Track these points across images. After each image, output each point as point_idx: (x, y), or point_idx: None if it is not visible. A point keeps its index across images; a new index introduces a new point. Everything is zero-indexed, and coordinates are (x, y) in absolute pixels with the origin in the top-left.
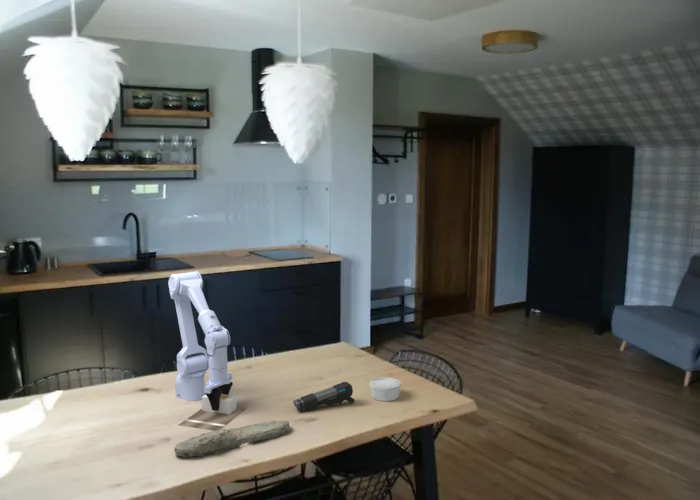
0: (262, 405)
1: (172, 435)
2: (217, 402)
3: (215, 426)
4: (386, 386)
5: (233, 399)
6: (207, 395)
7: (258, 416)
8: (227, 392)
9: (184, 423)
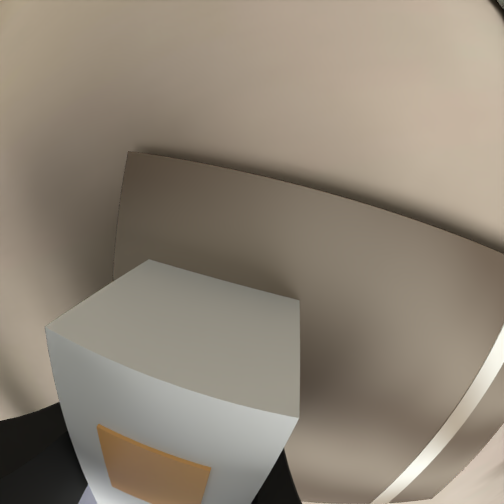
0: (39, 81)
1: (487, 467)
2: (298, 498)
3: None
4: None
5: (142, 348)
6: None
7: (249, 10)
8: (49, 447)
9: (422, 491)
